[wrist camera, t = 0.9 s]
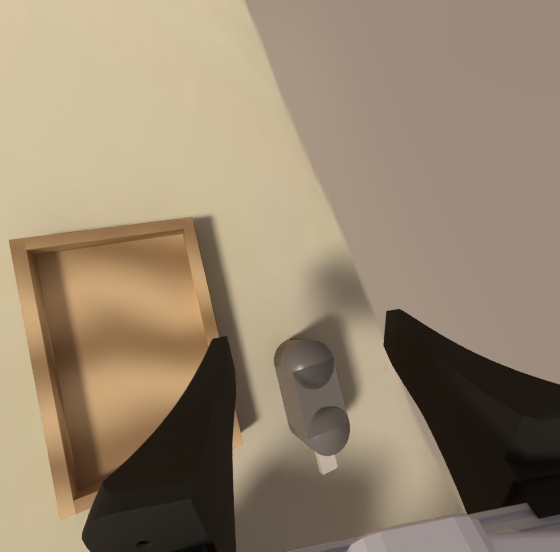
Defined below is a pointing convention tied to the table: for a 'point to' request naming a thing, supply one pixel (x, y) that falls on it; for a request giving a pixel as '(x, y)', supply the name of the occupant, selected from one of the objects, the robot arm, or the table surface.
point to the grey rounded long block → (313, 398)
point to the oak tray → (110, 342)
